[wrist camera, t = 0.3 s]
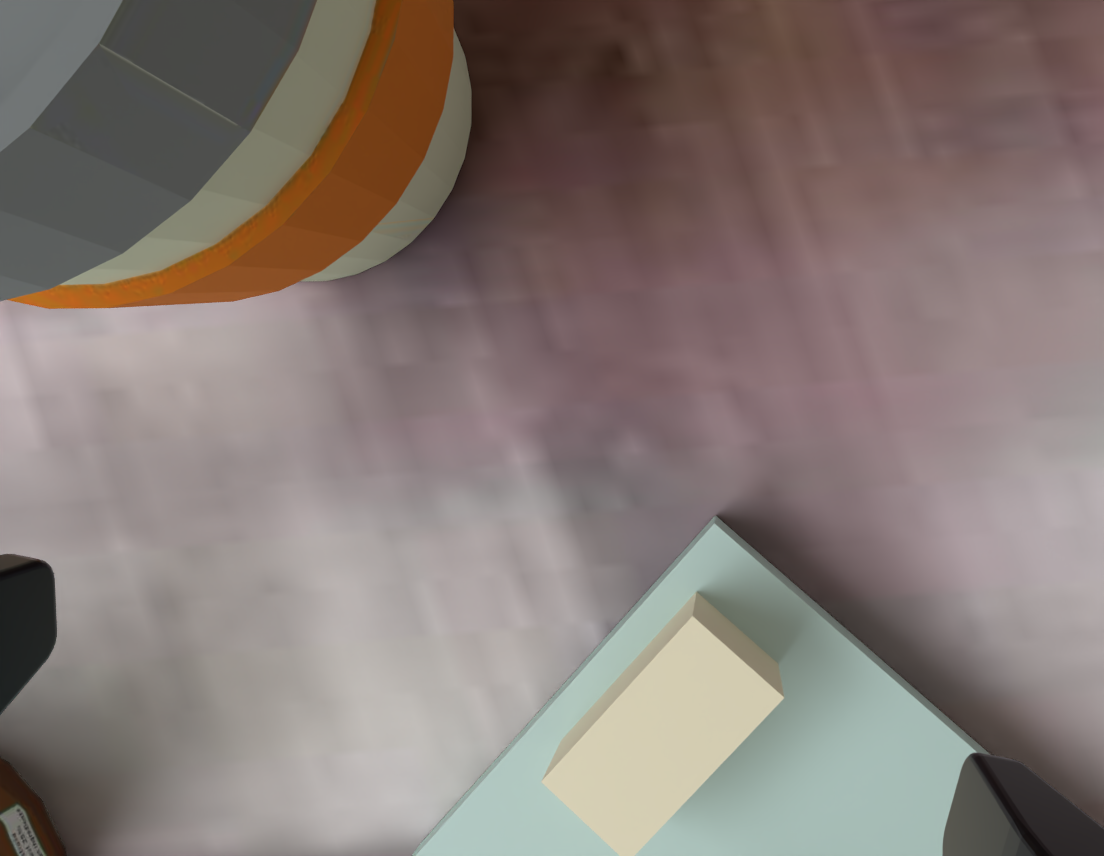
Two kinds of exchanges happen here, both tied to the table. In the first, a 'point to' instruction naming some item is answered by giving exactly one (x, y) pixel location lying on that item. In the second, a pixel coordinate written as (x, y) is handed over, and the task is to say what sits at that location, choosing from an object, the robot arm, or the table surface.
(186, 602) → the table surface
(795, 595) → the display stand
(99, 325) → the table surface
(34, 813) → the food container
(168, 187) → the reusable coffee cup
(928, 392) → the table surface
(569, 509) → the table surface
